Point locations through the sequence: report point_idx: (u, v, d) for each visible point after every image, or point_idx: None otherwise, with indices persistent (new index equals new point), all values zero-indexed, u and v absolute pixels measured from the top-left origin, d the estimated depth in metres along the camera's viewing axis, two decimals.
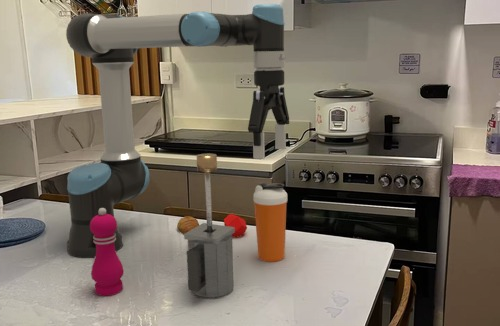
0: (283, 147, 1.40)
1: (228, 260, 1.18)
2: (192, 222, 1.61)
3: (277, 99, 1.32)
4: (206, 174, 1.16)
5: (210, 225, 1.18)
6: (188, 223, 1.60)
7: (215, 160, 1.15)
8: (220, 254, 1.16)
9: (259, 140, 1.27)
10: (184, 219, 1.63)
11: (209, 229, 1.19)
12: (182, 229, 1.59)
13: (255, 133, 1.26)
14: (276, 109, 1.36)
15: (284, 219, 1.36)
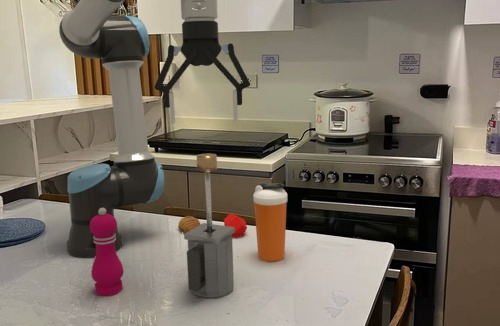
0: (234, 118, 1.14)
1: (228, 260, 1.18)
2: (193, 222, 1.61)
3: (208, 57, 1.10)
4: (206, 174, 1.16)
5: (210, 225, 1.18)
6: (189, 223, 1.60)
7: (215, 160, 1.15)
8: (220, 254, 1.16)
9: (167, 102, 1.12)
10: (185, 219, 1.63)
11: (209, 229, 1.19)
12: (184, 229, 1.59)
13: None
14: None
15: (284, 219, 1.36)
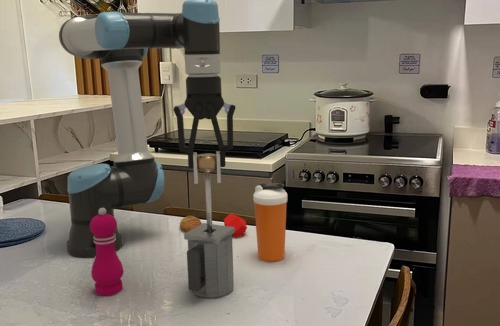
0: (217, 180, 1.16)
1: (228, 260, 1.18)
2: (195, 221, 1.61)
3: (208, 111, 1.12)
4: (206, 174, 1.16)
5: (210, 225, 1.18)
6: (191, 223, 1.61)
7: (215, 160, 1.15)
8: (220, 254, 1.16)
9: (190, 162, 1.15)
10: (187, 219, 1.64)
11: (209, 229, 1.19)
12: (185, 229, 1.60)
13: None
14: None
15: (284, 219, 1.36)
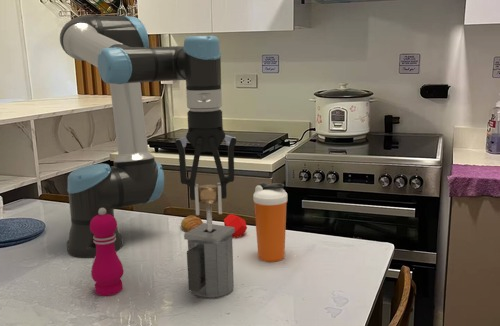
0: None
1: (228, 260, 1.18)
2: (197, 221, 1.62)
3: (210, 144, 1.14)
4: (207, 205, 1.17)
5: None
6: (193, 222, 1.61)
7: (216, 192, 1.16)
8: (220, 254, 1.16)
9: (192, 194, 1.17)
10: (188, 218, 1.64)
11: None
12: (187, 228, 1.60)
13: (189, 186, 1.17)
14: None
15: (284, 219, 1.36)
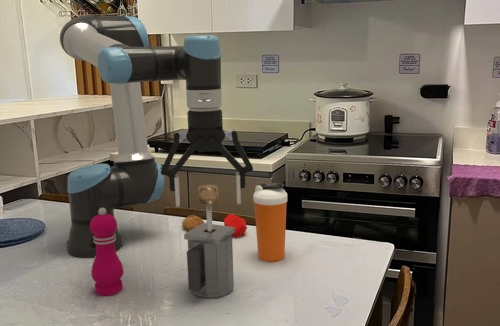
0: (237, 201, 1.17)
1: (228, 260, 1.18)
2: (198, 221, 1.62)
3: None
4: (207, 205, 1.17)
5: None
6: (194, 222, 1.61)
7: (216, 192, 1.16)
8: (220, 254, 1.16)
9: (172, 185, 1.16)
10: (189, 218, 1.64)
11: None
12: (189, 228, 1.60)
13: (169, 177, 1.16)
14: None
15: (284, 219, 1.36)
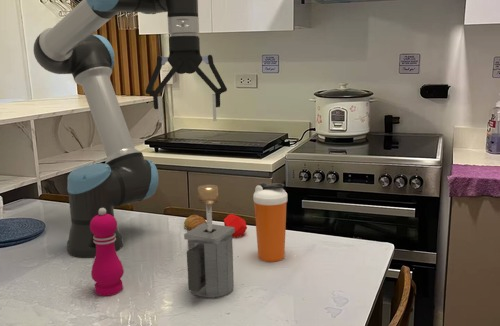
0: (213, 118, 1.33)
1: (228, 260, 1.18)
2: (200, 220, 1.62)
3: (191, 66, 1.29)
4: (207, 205, 1.17)
5: None
6: (196, 221, 1.62)
7: (216, 192, 1.16)
8: (220, 254, 1.16)
9: (155, 104, 1.32)
10: (191, 218, 1.64)
11: None
12: (191, 227, 1.60)
13: (153, 96, 1.32)
14: (201, 77, 1.32)
15: (284, 219, 1.36)
